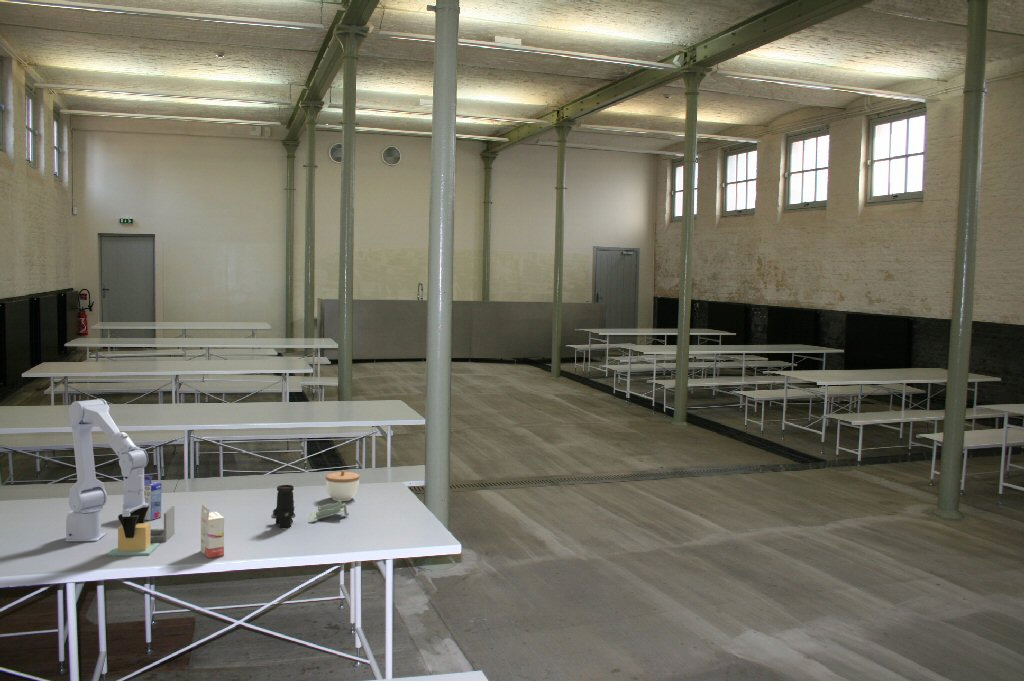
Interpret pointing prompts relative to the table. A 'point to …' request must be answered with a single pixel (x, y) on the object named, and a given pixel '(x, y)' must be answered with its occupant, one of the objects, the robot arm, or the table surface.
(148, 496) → the ink cartridge box
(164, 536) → the grey angular piece
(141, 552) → the teal pad
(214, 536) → the ink cartridge box
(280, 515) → the scope
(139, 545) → the orange rectangular block
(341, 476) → the lidded bowl
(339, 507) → the metal bracket
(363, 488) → the table surface
